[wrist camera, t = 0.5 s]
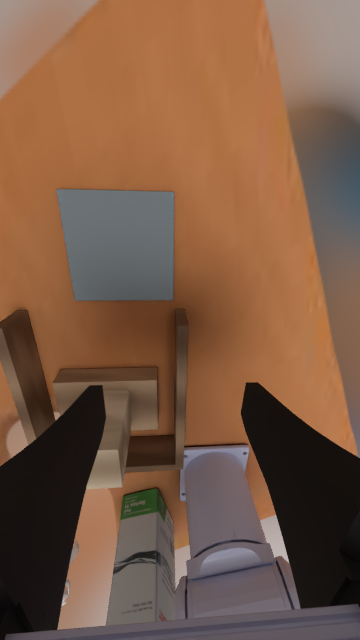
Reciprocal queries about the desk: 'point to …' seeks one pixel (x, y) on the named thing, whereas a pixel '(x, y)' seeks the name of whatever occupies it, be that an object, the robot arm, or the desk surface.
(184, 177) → the desk surface
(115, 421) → the maple block
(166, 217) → the slate mat
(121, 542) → the ink box
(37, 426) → the walnut open-sided frame
